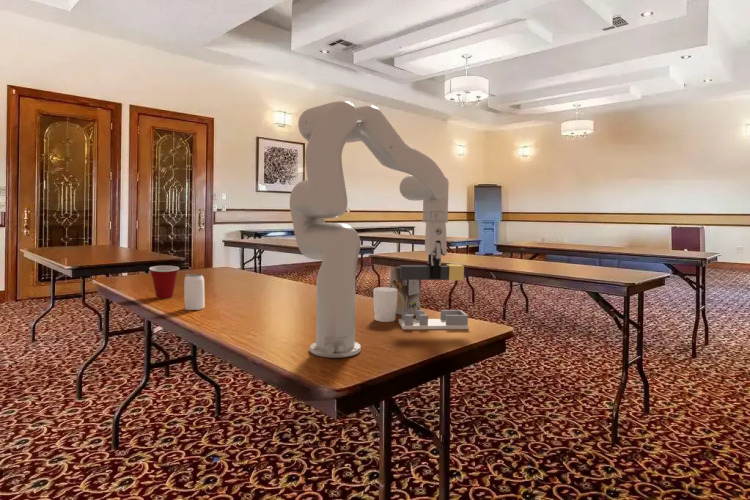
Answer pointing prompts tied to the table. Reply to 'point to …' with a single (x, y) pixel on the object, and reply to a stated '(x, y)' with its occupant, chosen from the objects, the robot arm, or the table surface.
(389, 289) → the white cup
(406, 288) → the coffee box
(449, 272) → the gray box yellow end
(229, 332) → the table surface
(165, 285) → the plastic cup
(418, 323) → the clip rail
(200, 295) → the can
